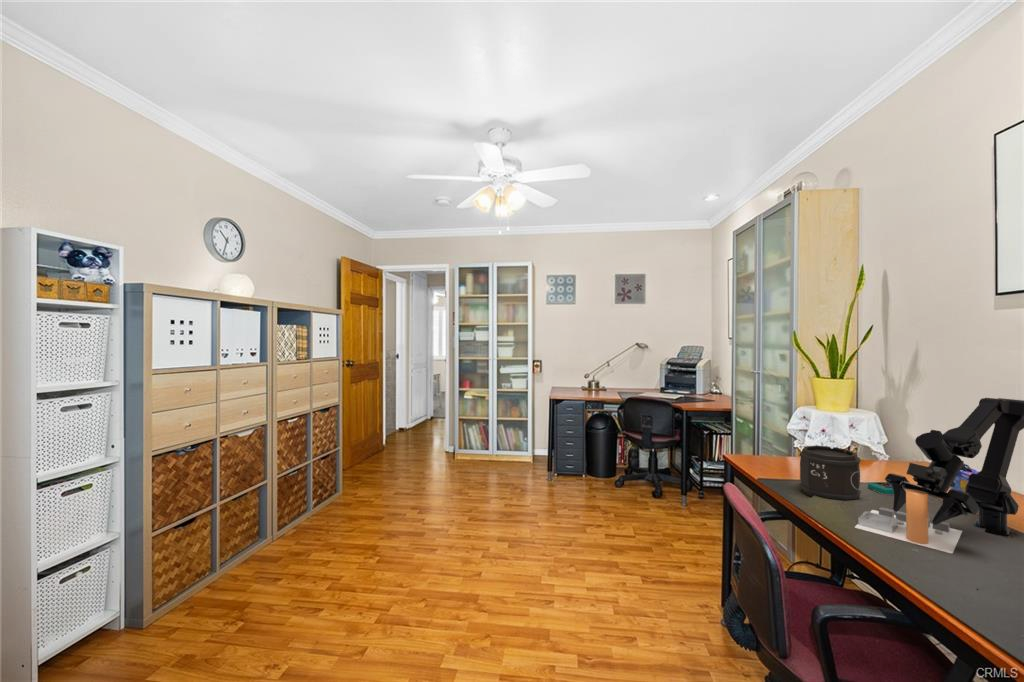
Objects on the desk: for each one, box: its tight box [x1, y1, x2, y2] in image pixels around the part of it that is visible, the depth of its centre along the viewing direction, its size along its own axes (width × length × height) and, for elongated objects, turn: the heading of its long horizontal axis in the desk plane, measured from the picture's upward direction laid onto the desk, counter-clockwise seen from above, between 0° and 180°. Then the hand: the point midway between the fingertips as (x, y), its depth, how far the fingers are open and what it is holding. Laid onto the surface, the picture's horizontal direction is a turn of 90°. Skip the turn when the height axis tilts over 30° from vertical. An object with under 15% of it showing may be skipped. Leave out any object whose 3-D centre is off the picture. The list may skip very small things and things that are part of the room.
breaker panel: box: [854, 507, 963, 554], centre depth 124 cm, size 20×20×3 cm
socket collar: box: [857, 510, 898, 533], centre depth 127 cm, size 8×8×2 cm
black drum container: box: [798, 445, 862, 501], centre depth 155 cm, size 18×18×16 cm
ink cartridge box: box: [949, 463, 979, 514], centre depth 142 cm, size 10×6×14 cm, turn 164°
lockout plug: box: [905, 489, 929, 544], centre depth 118 cm, size 4×4×13 cm
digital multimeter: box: [867, 481, 894, 495], centre depth 158 cm, size 7×15×3 cm, turn 93°
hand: (913, 516), depth 117 cm, fingers open, 9 cm apart
